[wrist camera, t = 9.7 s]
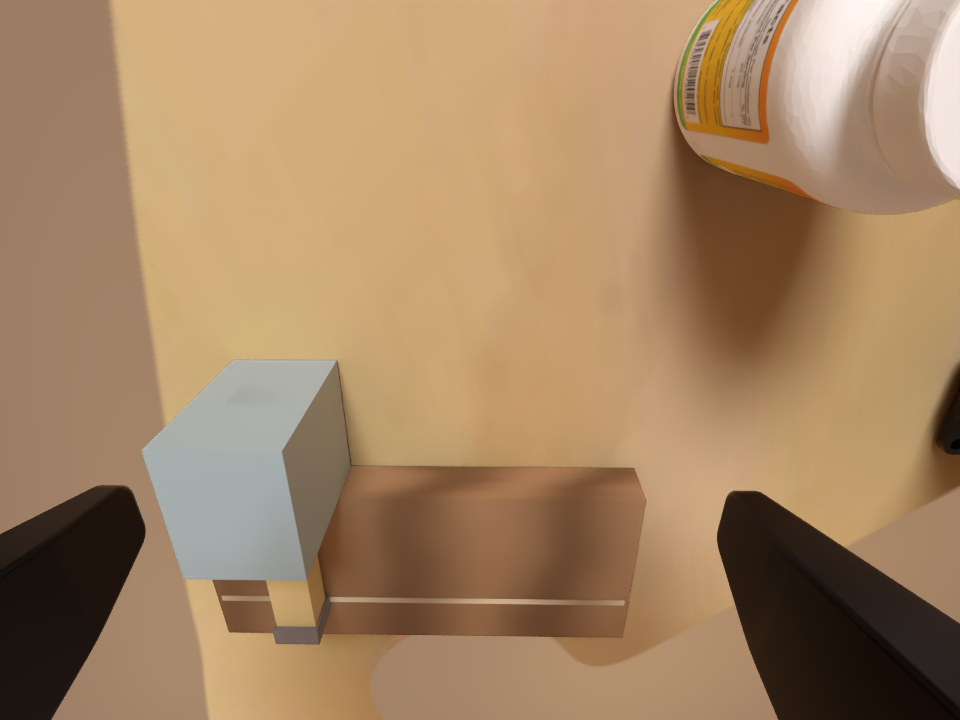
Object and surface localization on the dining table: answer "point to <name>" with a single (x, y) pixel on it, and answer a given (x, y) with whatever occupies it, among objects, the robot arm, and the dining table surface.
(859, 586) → the robot arm
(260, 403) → the light blue block
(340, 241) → the dining table surface
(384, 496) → the board
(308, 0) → the dining table surface
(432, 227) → the dining table surface
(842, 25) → the supplement bottle
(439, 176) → the dining table surface
